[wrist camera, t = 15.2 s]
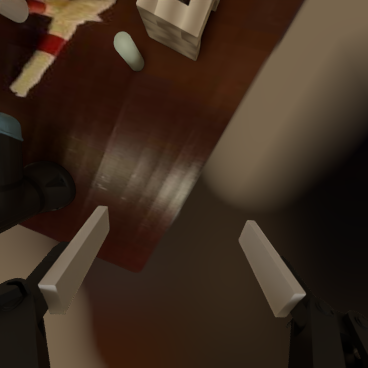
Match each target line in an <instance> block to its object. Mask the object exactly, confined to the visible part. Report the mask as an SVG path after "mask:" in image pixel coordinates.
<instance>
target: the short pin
mask: <svg viewBox="0 0 368 368" xmlns="http://www.w3.org/2000/svg"><path fill="white" fill-rule="evenodd" d="M114 46H115V48H116V50H117V51H118V53H119V54H120V55H121V56H122V57H123V59H124V60H125V61H126V62H127V63H128V65H129V66H130V67H131V68H132V69H133V70H134V71H140V70H142V69H143V67H144V60H143V58H142V56H141V54H140V52H139V51H138V49H137V47H136V46H135V44H134V42H133V41H132V39H131V37H130V36H129V35H128V34H127V33H125V32H119V33H118V34H117V35H116V36H115V38H114Z"/></svg>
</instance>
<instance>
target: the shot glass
mask: <svg viewBox="0 0 368 368" xmlns="http://www.w3.org/2000/svg"><path fill="white" fill-rule="evenodd" d="M0 14H2V15H4V16H6V17H7V18H9V19H11V20H13V21H15V22H18V23H21V22H24V21H25V20H26V19H27V17H28V6H27V2H26V1H25V0H0Z"/></svg>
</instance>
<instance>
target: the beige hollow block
mask: <svg viewBox="0 0 368 368" xmlns="http://www.w3.org/2000/svg"><path fill="white" fill-rule="evenodd" d="M219 1H220V0H191V1H190V4H189V6H187V5H185V4H184V3H182V2H180V1H178V0H137V4H136V5H137V8H138V10H139V13H140V15H141V18H142V20H143V22H144V25H145V27H146V30H147V32H148V35H149V37H151V38H153V39H155V40H157V41H159V42H160V43H162V44H164V45H166V46H168V47H170V48H172V49H174V50H176V51H178V52H180V53H181V54H183V55H185V56H187V57H189V58H191V59H193V60H195V61H196V59H197V56H198V54H199V50H200V42H201V35H202V32H203V30H204V27H205V25H206V22H207V19H208V17H209V14H210V12H211V10H213V11H216V8H217V6H218V3H219Z"/></svg>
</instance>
